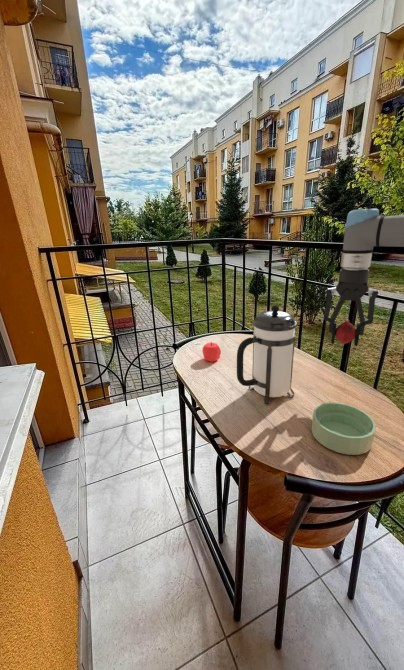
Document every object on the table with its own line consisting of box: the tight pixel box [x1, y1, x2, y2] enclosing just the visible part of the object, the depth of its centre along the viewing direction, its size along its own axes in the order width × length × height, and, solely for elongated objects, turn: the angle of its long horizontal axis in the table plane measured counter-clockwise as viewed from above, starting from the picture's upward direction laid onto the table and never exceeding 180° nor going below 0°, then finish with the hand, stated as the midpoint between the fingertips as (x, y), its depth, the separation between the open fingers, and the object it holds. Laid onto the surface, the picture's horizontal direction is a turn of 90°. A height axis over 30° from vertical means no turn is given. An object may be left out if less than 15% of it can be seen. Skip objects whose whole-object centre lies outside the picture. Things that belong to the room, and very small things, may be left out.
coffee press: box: [236, 304, 298, 405], centre depth 87 cm, size 17×16×30 cm
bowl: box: [310, 402, 377, 456], centre depth 72 cm, size 14×14×6 cm
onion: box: [335, 318, 356, 345], centre depth 87 cm, size 6×6×8 cm
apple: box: [201, 341, 222, 363], centre depth 118 cm, size 8×8×8 cm
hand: (343, 343), depth 88 cm, fingers closed on onion, 6 cm apart
